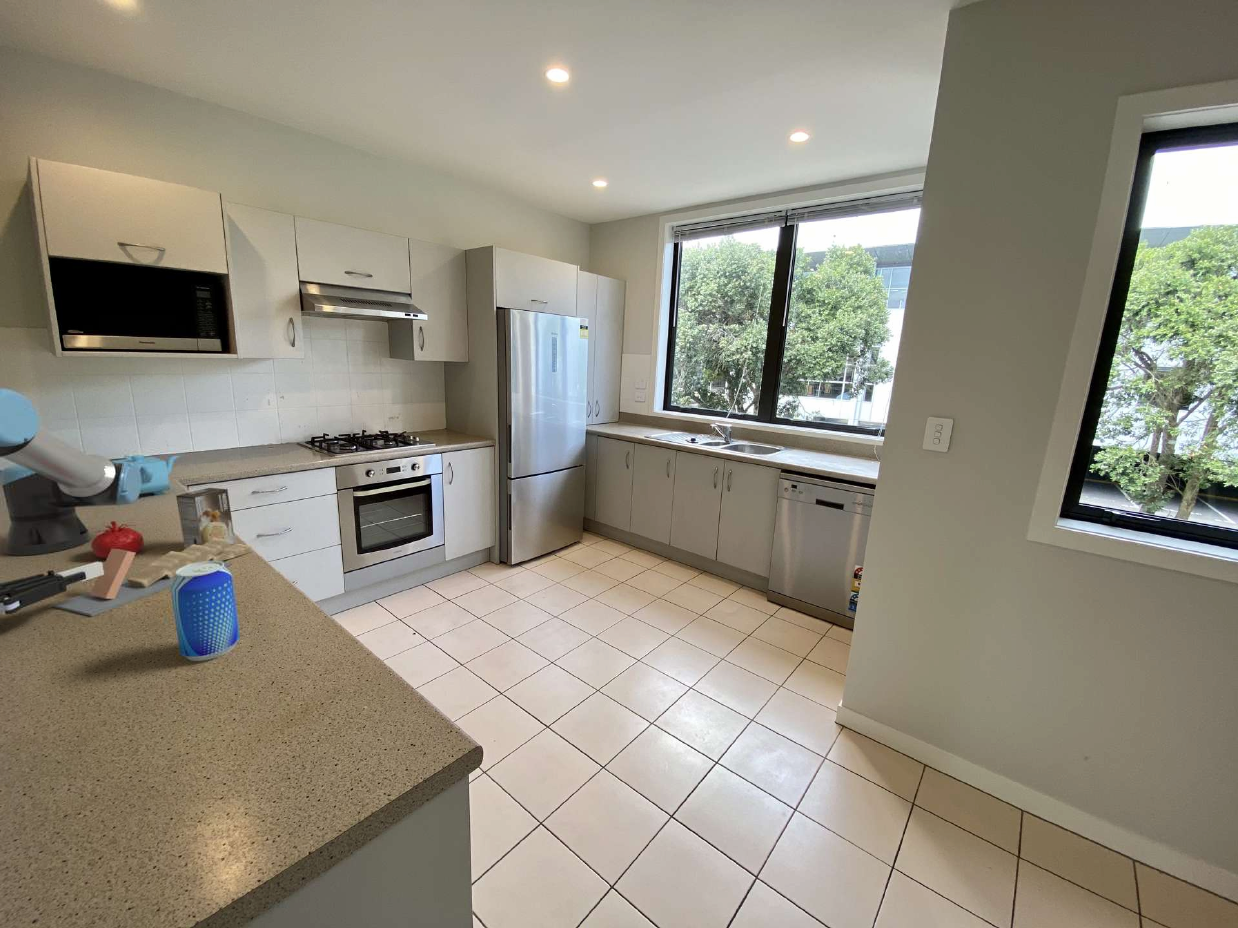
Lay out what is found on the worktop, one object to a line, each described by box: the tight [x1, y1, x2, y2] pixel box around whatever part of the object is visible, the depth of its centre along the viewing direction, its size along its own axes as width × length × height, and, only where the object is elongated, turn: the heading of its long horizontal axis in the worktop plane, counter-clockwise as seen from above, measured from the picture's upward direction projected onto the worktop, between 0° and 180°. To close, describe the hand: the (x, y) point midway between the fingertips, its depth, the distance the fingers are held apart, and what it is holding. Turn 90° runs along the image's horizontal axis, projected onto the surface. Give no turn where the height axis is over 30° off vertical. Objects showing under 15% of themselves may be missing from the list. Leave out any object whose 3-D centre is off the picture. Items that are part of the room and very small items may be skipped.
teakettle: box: [111, 454, 181, 499], centre depth 184 cm, size 19×19×15 cm
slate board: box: [51, 560, 233, 617], centre depth 115 cm, size 12×28×1 cm, turn 164°
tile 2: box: [126, 550, 189, 588], centre depth 117 cm, size 2×5×10 cm
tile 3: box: [163, 544, 211, 579], centre depth 121 cm, size 2×5×10 cm
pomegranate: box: [91, 520, 145, 560], centre depth 130 cm, size 10×10×9 cm
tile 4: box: [195, 538, 231, 563], centre depth 126 cm, size 2×5×10 cm
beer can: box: [169, 561, 241, 662], centre depth 89 cm, size 8×8×16 cm
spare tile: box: [90, 549, 136, 599], centre depth 108 cm, size 2×5×10 cm, turn 74°
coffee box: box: [175, 487, 236, 550], centre depth 136 cm, size 9×6×16 cm
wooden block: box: [208, 543, 253, 561], centre depth 131 cm, size 2×5×10 cm
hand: (100, 568), depth 106 cm, fingers closed
